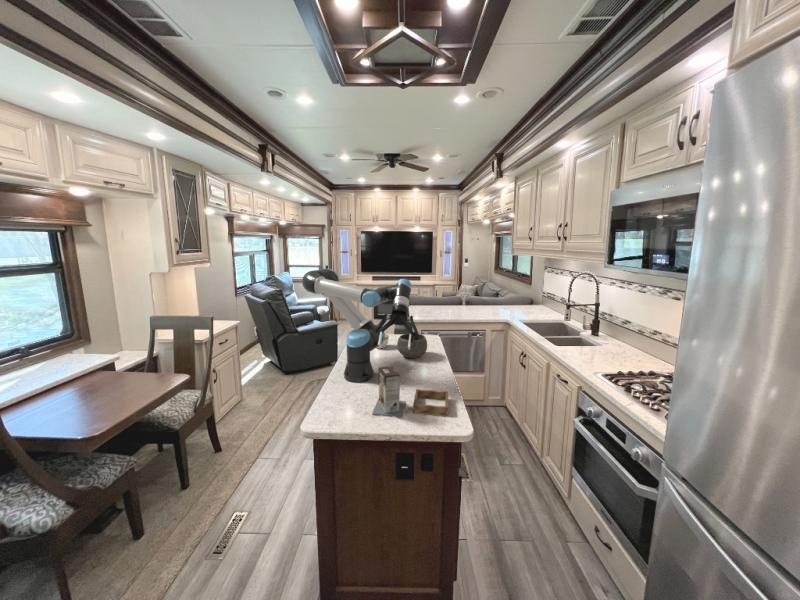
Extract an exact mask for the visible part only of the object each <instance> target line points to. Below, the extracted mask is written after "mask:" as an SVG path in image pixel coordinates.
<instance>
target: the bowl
mask: <svg viewBox="0 0 800 600" xmlns="http://www.w3.org/2000/svg"><path fill="white" fill-rule="evenodd" d="M409 335H410V333H409V332H408V333H404V334H402V335H400V336H399V337H398V339H397V344H396V346H397V351H398V352H399V353H400V354H401V355H402V356H404V357H406V358H409V359H418V358H420V357H422V356H424V355H425V353H426V352H427V349H428V340H427V338H426V336H425V335H424V334H422V333H418V336H414V341H413V343H412V342H411V345H410V350H408V342H409Z"/></svg>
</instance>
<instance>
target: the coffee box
mask: <svg viewBox="0 0 800 600" xmlns="http://www.w3.org/2000/svg"><path fill="white" fill-rule="evenodd" d="M400 379H401V374H400V372H398V370H397V369H396V368H395V367H394V366H393V365H390V366H381V367H378V399H379V403H380V405H381V407H382V408H383V410H384V412H385V413H389V412H395V411H399V401H400V396H401V395H400V391H401V389H400V388H401V380H400Z"/></svg>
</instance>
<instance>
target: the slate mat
mask: <svg viewBox="0 0 800 600" xmlns="http://www.w3.org/2000/svg"><path fill="white" fill-rule="evenodd" d="M405 406H406V400H399V411H395V412H389V413H385V412H384V410H383V408H382V407H381V405H380V403H379V398H378V400H377V401H376V404H375V405H374V409H373V411H372V413H371V415H372V414H373V415H372V416H380V415H386V416H385V417H392V416H396V418H402V417H403V415H402V414H404V411H403V410H404V409H405Z"/></svg>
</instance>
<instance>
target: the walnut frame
mask: <svg viewBox="0 0 800 600" xmlns="http://www.w3.org/2000/svg"><path fill="white" fill-rule="evenodd" d="M419 398H420V399H431V400H445V401H444V403H445V404H444V406H443V405H434V404H421V403H418V399H419ZM412 403H413V404H412V414H420V413H421V414H422V415H423V414H424V415H432V414H433V416H444V417H445V416H446V417H447V416H448V415H449V412H448V411H449V391H444V390H434V389H433V390H431V389H420V388H419V389H418V388H417V389H415V394H414V399H413V402H412Z"/></svg>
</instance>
